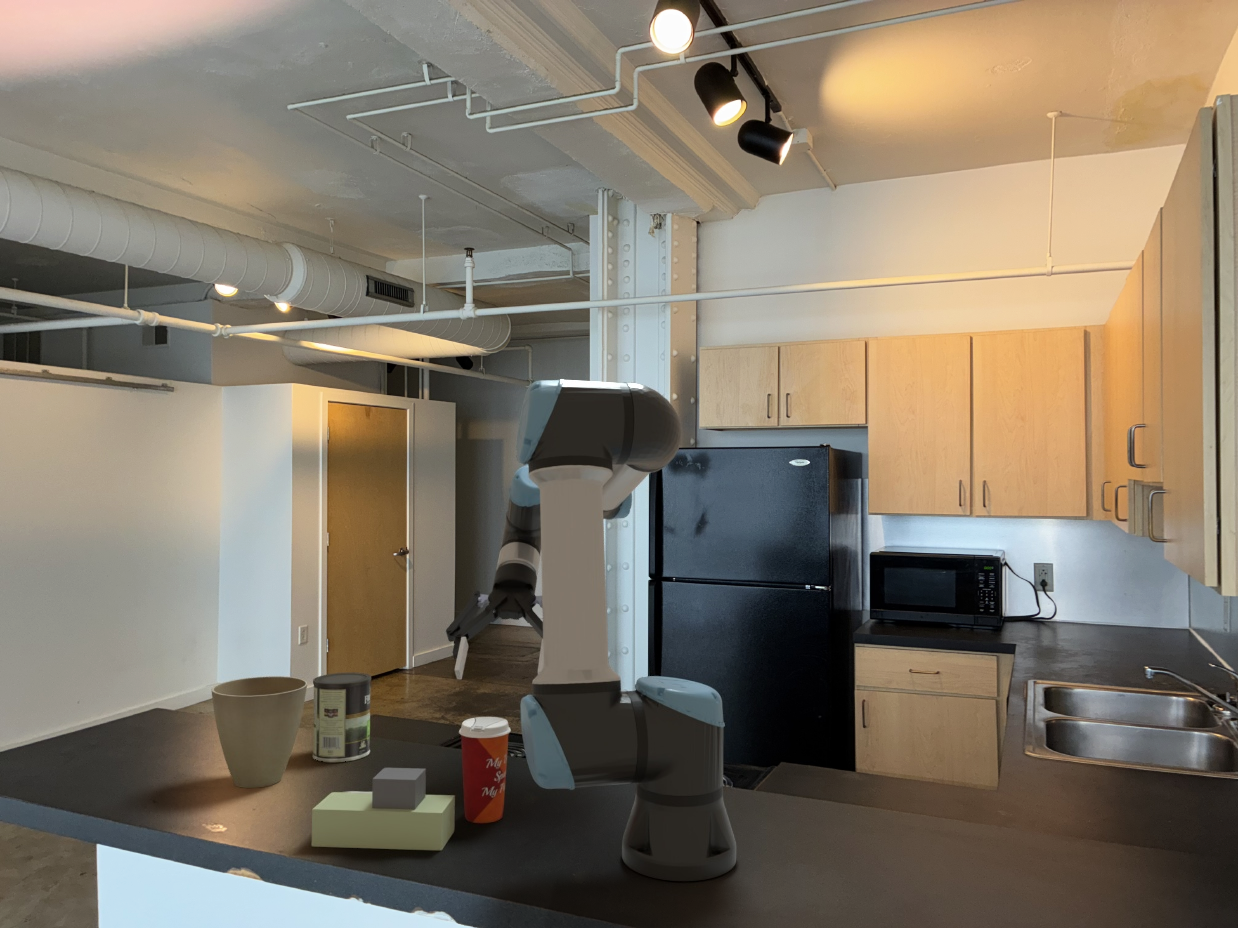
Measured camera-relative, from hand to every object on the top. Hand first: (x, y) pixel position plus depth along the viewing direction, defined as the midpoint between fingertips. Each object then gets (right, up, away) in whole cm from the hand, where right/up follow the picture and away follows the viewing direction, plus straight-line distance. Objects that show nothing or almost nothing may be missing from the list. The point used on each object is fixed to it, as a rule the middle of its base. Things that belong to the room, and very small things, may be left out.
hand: (499, 675), depth 144 cm
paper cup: (-1, -18, -12) cm, 22 cm away
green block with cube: (-14, -18, -15) cm, 27 cm away
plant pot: (-41, -19, +4) cm, 45 cm away
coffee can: (-32, -19, +19) cm, 42 cm away
